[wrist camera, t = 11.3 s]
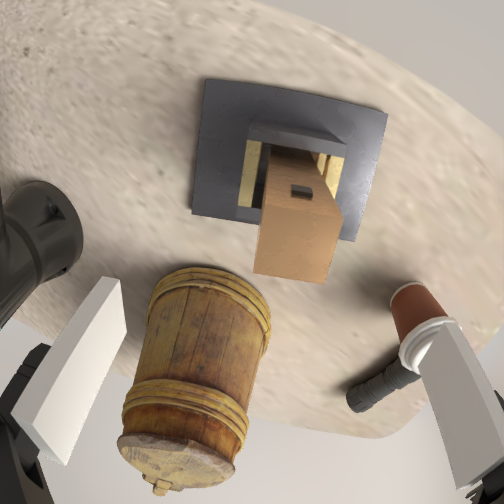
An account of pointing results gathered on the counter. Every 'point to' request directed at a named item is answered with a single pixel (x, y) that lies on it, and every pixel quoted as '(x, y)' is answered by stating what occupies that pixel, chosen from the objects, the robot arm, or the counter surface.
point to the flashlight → (380, 386)
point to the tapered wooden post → (296, 219)
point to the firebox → (285, 134)
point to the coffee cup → (416, 322)
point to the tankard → (194, 379)
